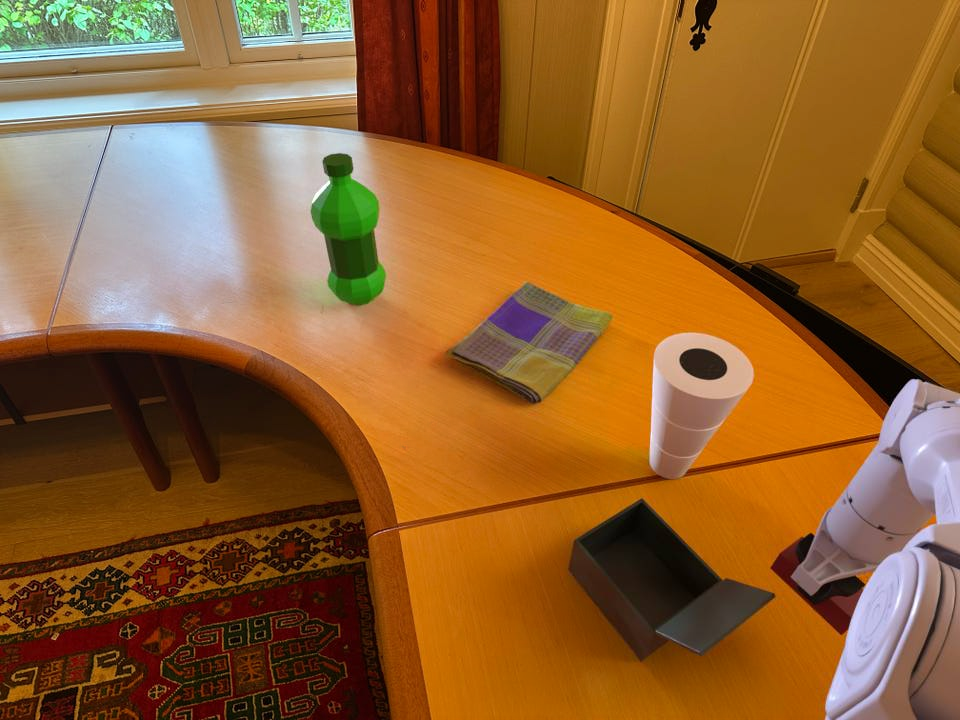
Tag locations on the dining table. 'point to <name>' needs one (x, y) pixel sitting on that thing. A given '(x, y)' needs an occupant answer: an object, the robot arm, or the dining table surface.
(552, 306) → the dish towel
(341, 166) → the plastic bottle
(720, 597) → the carton flap
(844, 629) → the red rectangular block
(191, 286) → the dining table surface
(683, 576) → the carton
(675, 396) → the white paper towel roll
